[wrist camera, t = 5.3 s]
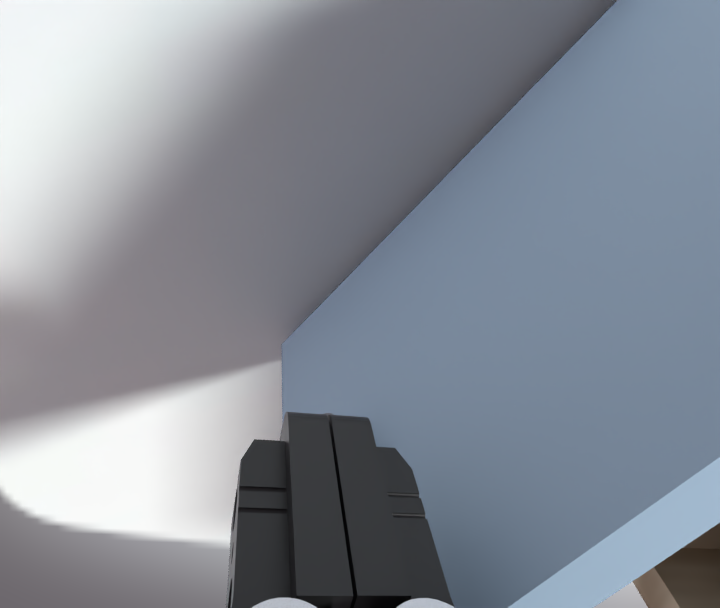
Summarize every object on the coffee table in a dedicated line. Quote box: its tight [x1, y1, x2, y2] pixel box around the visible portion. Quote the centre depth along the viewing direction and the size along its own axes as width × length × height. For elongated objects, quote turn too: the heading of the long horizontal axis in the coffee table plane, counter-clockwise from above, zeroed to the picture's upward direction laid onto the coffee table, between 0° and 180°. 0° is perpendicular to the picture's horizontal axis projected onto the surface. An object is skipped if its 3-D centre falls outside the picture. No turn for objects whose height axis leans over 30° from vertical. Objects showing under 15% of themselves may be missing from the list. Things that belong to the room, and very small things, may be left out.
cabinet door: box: [282, 0, 720, 608], centre depth 13 cm, size 21×2×13 cm, turn 137°
